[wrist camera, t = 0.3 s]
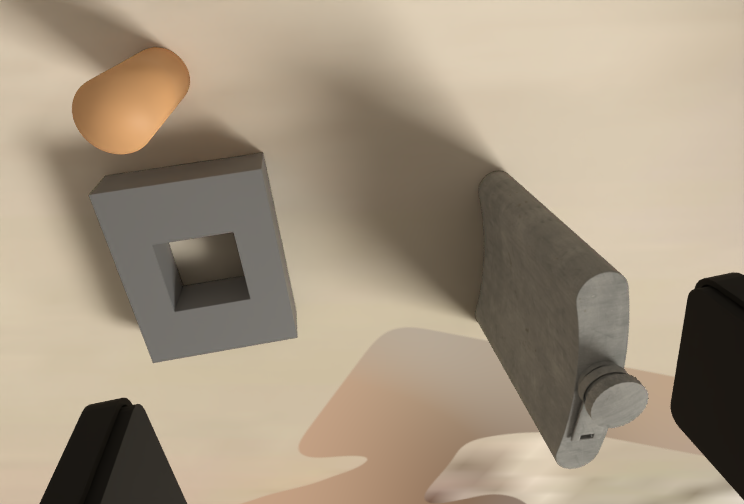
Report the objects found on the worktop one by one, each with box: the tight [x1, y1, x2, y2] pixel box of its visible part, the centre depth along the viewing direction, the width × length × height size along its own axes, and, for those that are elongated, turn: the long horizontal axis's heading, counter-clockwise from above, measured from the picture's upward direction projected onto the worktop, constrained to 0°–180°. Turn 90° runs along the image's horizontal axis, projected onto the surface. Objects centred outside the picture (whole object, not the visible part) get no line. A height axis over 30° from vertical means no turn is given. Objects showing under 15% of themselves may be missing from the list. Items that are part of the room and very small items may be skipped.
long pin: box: [72, 47, 190, 154], centre depth 33 cm, size 4×4×12 cm
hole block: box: [89, 153, 297, 363], centre depth 43 cm, size 15×12×4 cm
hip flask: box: [475, 171, 648, 469], centre depth 41 cm, size 16×4×20 cm, turn 4°
